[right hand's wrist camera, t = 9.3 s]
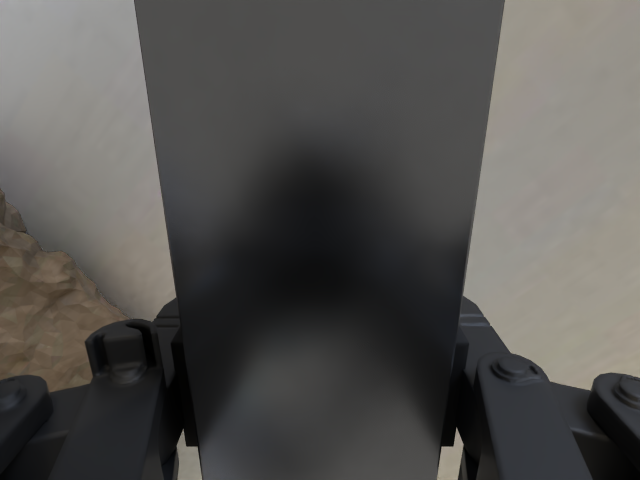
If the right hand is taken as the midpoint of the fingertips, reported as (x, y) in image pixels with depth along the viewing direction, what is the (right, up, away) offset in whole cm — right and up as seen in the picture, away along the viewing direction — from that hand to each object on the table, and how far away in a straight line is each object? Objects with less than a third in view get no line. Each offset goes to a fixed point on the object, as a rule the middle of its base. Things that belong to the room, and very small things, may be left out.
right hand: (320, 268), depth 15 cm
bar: (0, +10, -3) cm, 10 cm away
